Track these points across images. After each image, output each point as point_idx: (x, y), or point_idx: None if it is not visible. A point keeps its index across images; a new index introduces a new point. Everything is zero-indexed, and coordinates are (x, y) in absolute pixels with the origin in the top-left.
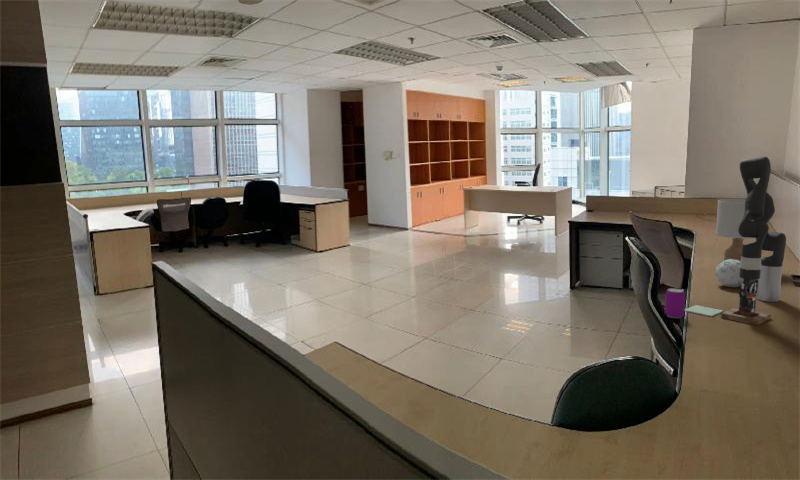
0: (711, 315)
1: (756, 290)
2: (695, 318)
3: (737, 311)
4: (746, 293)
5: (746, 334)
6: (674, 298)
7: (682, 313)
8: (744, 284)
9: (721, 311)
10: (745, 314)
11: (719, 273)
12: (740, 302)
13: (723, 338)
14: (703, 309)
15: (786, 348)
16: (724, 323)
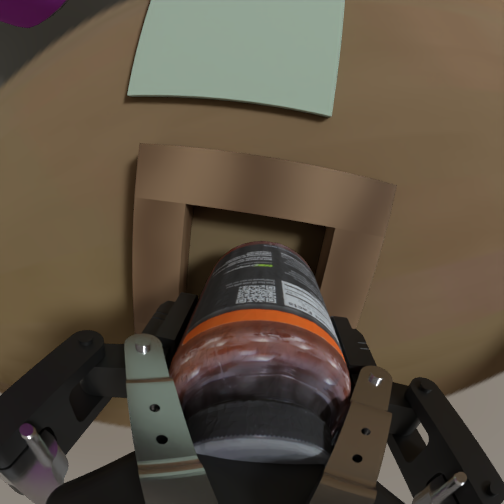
0: (129, 92)
1: (397, 445)
2: (58, 59)
3: (296, 219)
4: (80, 418)
5: (11, 308)
6: None
7: (18, 24)
8: (3, 480)
9: (293, 108)
10: (319, 261)
11: None
12: (210, 288)
13: None
14: (261, 6)
15: None
16: (58, 202)
